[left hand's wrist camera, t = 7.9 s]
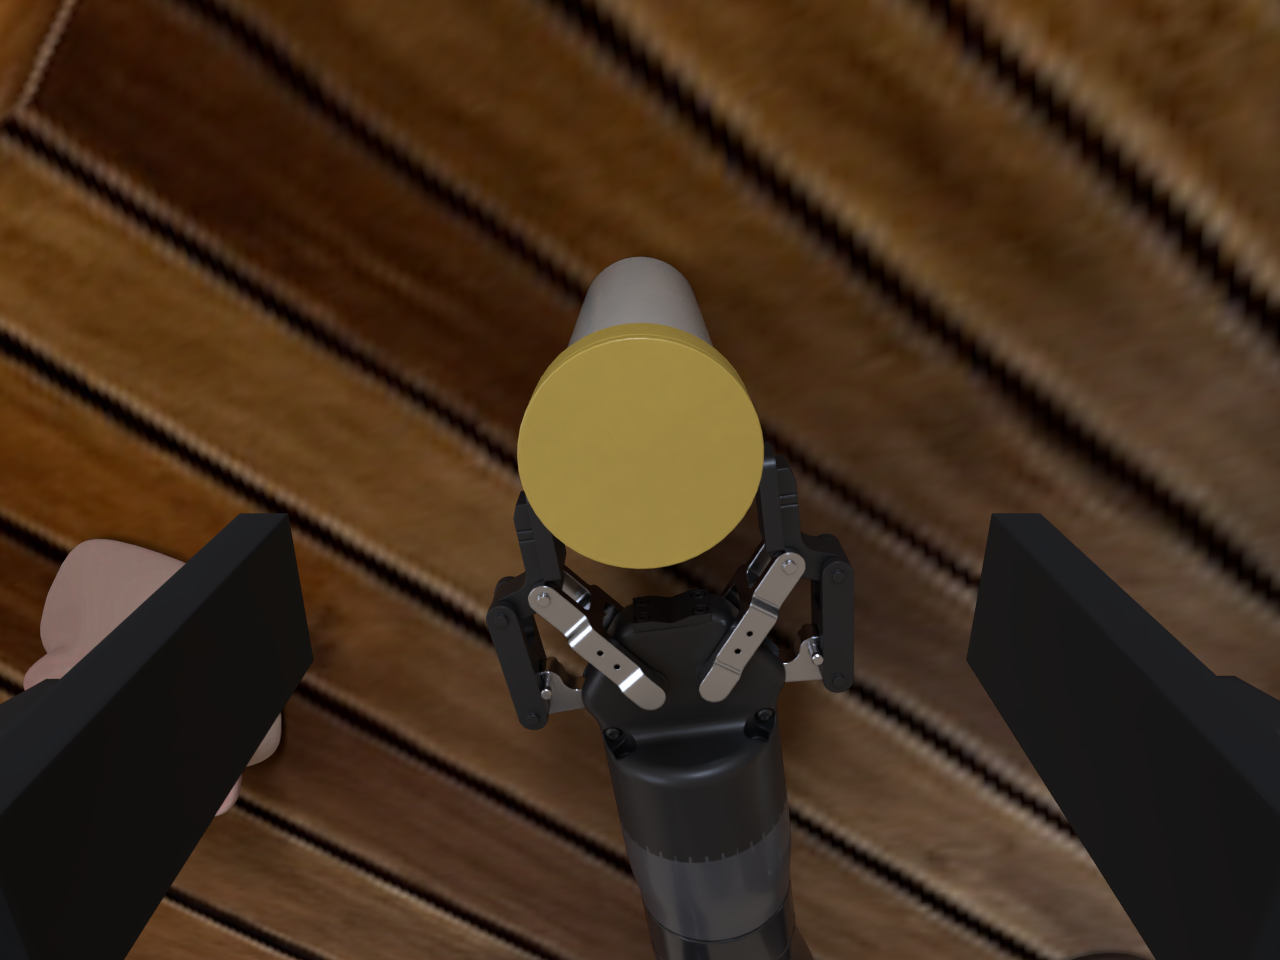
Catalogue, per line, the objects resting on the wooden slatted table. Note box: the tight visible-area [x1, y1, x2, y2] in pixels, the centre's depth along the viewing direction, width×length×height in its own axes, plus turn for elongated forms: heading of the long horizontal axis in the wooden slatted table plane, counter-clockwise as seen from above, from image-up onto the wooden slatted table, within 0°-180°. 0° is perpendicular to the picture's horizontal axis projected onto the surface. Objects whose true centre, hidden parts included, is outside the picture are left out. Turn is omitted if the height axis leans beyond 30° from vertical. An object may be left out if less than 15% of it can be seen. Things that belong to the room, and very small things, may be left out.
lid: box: [517, 323, 764, 569], centre depth 20 cm, size 6×6×2 cm
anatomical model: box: [24, 539, 281, 816], centre depth 40 cm, size 13×4×12 cm
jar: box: [568, 257, 714, 348], centre depth 27 cm, size 5×5×17 cm
